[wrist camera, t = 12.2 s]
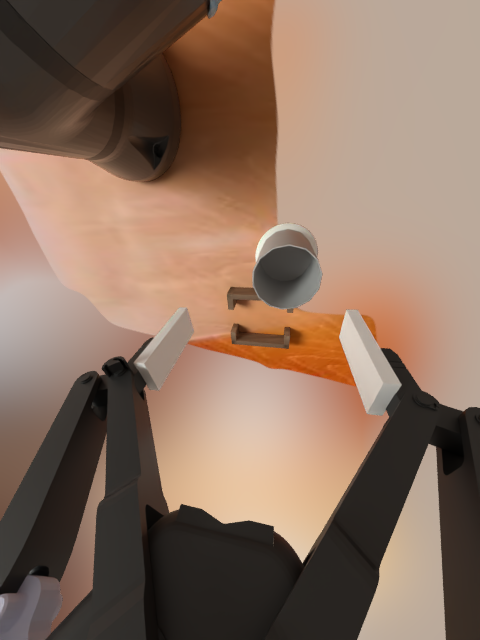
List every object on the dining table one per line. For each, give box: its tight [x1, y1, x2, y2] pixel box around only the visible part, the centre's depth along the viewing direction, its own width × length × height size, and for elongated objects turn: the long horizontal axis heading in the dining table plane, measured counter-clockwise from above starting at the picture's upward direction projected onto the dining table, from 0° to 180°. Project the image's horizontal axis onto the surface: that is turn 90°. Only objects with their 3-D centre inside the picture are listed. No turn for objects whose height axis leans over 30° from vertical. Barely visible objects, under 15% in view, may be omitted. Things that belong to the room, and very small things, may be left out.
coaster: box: [256, 223, 318, 261], centre depth 32 cm, size 10×10×1 cm
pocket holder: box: [227, 287, 293, 349], centre depth 38 cm, size 12×12×3 cm
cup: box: [253, 229, 322, 309], centre depth 27 cm, size 8×8×10 cm
